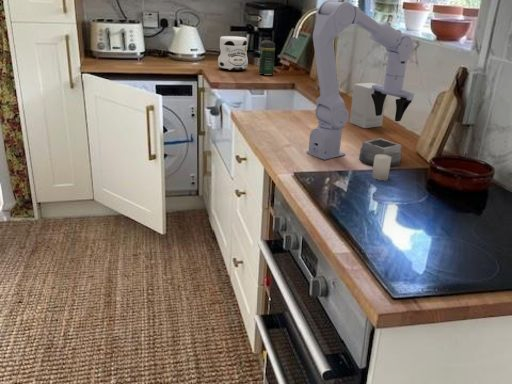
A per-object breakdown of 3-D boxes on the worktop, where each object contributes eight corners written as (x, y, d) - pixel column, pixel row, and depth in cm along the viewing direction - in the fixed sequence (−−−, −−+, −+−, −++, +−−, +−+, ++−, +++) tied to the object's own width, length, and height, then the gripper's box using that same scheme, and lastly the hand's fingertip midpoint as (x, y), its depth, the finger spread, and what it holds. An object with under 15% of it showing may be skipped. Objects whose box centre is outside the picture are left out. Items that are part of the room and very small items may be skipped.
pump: (381, 181, 133) (384, 160, 130) (368, 176, 136) (371, 156, 133) (394, 177, 136) (398, 157, 134) (381, 172, 139) (385, 152, 137)
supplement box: (382, 126, 185) (388, 86, 179) (364, 128, 181) (369, 88, 175) (366, 120, 192) (371, 82, 186) (348, 122, 188) (353, 83, 182)
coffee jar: (274, 76, 272) (276, 41, 264) (260, 76, 271) (262, 41, 263) (271, 73, 281) (273, 39, 273) (257, 73, 279) (259, 39, 272)
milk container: (237, 73, 275) (238, 40, 268) (211, 69, 283) (212, 37, 276) (253, 69, 289) (254, 38, 282) (228, 66, 297) (229, 35, 290)
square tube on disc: (382, 170, 141) (385, 152, 138) (351, 158, 149) (353, 141, 147) (408, 163, 148) (411, 145, 145) (376, 152, 156) (378, 135, 154)
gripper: (422, 78, 149) (414, 121, 154) (383, 70, 159) (377, 111, 165) (408, 79, 145) (401, 124, 150) (369, 71, 155) (364, 114, 160)
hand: (387, 118), depth 157 cm, fingers open, 7 cm apart
